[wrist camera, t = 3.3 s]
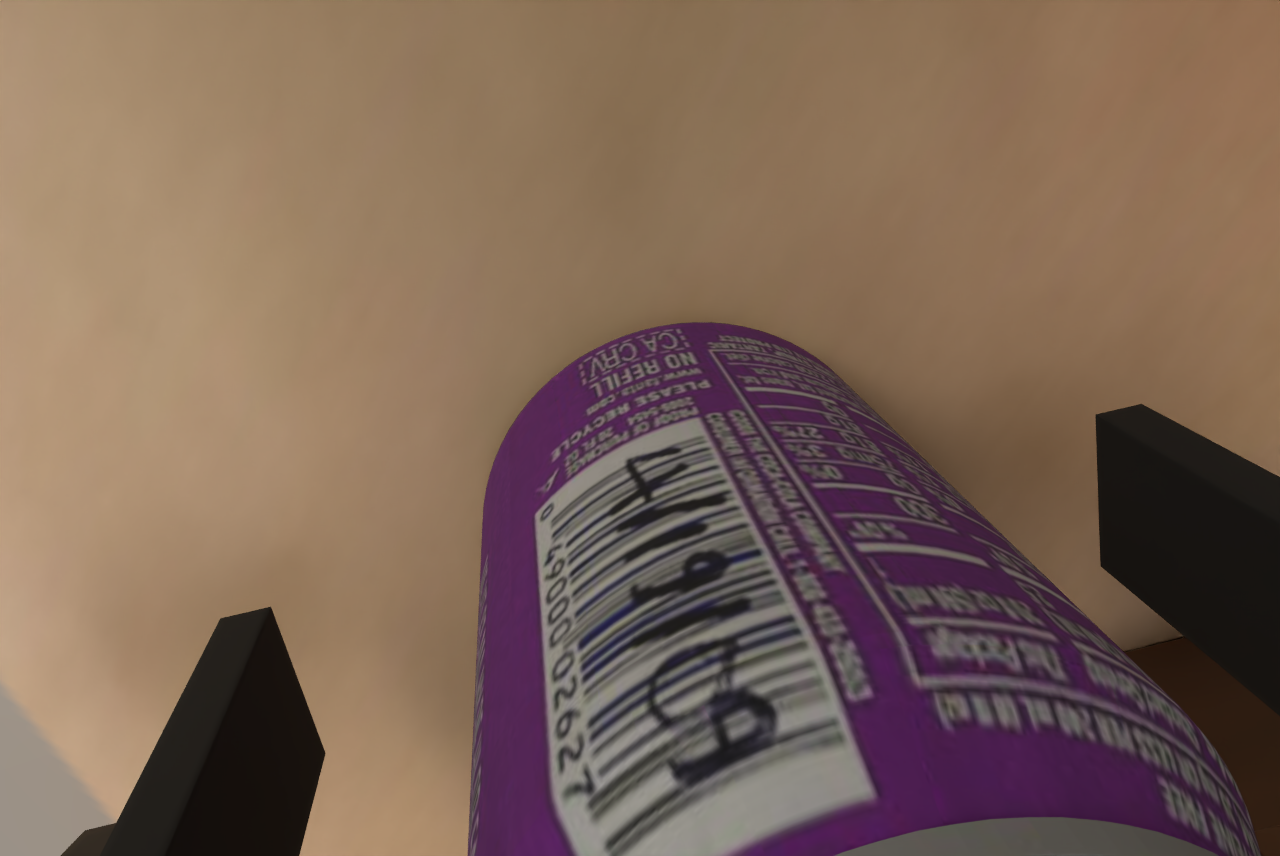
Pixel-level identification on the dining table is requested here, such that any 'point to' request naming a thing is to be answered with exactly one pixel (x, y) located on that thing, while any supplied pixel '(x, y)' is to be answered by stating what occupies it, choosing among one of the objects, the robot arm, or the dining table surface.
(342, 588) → the dining table surface
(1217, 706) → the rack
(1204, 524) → the robot arm
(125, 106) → the dining table surface
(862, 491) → the beverage can
